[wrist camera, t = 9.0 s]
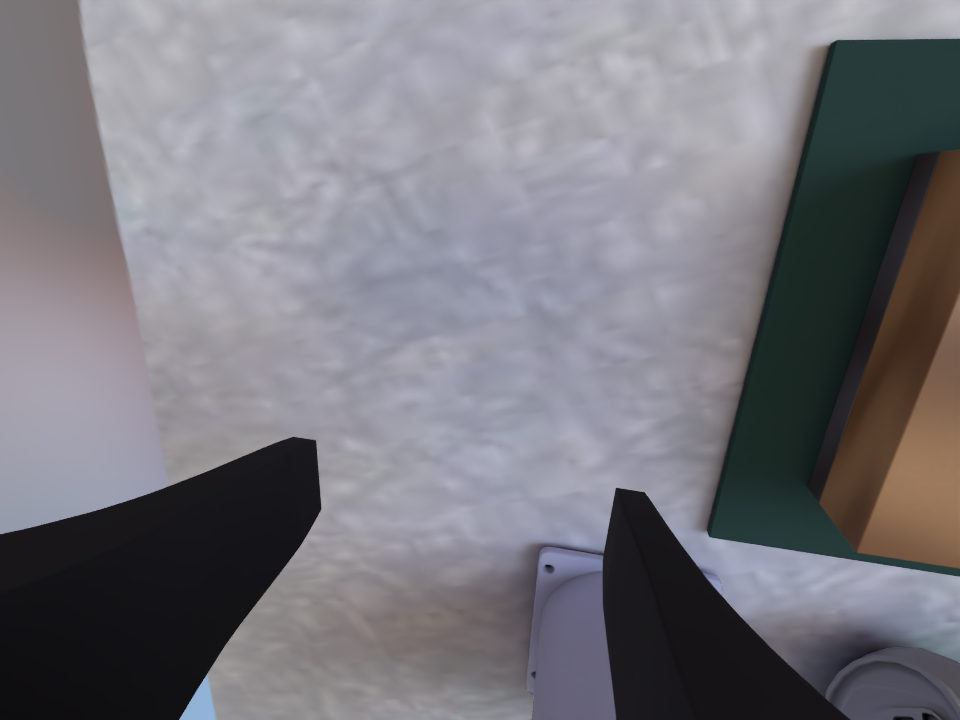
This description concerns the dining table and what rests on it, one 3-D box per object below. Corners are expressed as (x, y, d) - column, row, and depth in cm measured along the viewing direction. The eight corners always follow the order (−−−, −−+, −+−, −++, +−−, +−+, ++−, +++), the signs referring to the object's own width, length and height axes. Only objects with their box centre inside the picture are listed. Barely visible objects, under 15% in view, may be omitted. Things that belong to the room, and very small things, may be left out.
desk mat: (1004, 577, 19) (1013, 585, 18) (706, 531, 20) (709, 537, 20) (1298, 38, 12) (1320, 34, 12) (829, 43, 14) (836, 39, 14)
